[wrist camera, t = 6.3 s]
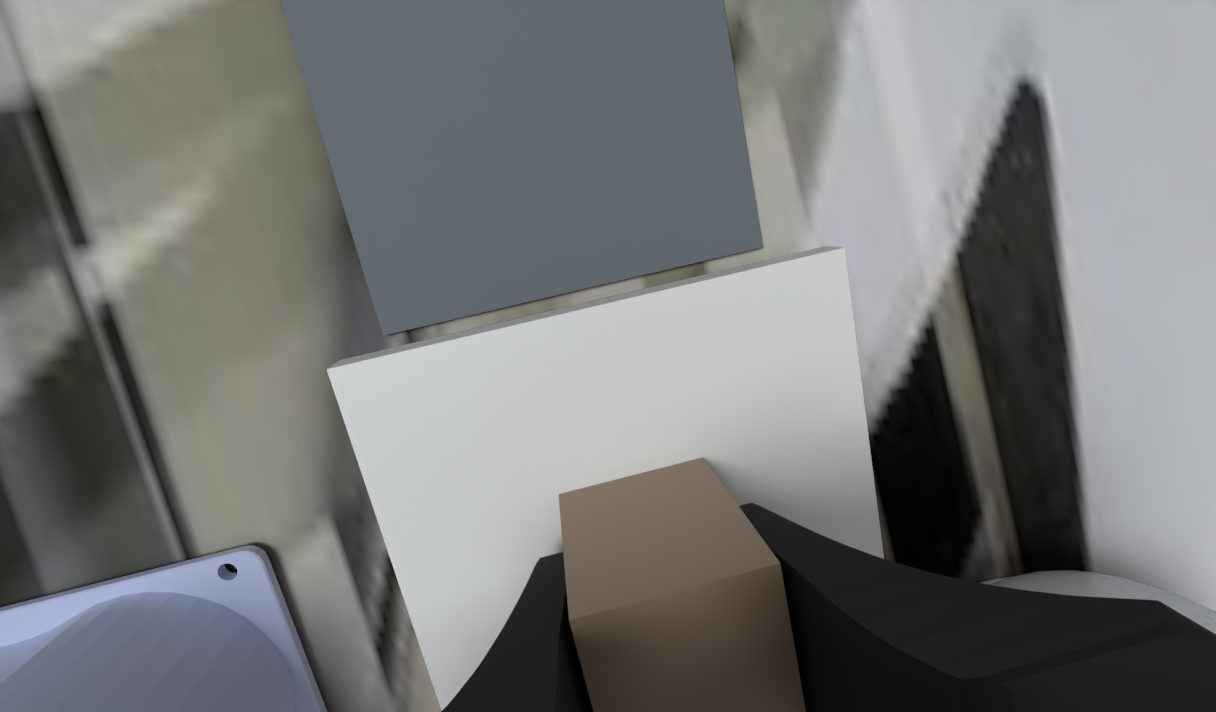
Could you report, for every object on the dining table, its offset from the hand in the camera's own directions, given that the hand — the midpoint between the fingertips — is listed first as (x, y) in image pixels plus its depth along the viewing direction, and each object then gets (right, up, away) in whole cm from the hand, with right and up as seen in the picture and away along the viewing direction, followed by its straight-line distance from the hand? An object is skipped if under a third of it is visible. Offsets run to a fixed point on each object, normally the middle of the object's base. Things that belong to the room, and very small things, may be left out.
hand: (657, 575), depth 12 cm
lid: (0, +1, +2) cm, 2 cm away
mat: (-3, +11, +5) cm, 13 cm away
